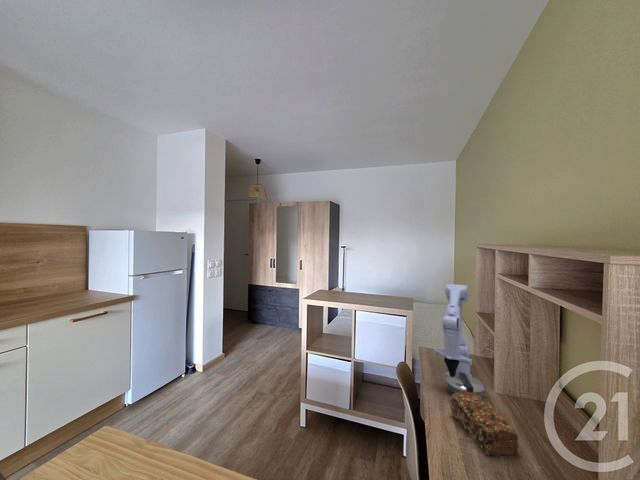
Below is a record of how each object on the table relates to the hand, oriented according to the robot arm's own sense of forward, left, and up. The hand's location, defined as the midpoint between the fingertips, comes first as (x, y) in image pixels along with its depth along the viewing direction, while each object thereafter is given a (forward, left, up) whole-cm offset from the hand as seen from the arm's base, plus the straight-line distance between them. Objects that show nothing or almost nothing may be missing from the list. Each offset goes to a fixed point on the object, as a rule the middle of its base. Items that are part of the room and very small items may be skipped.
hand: (452, 376), depth 105 cm
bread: (+12, +18, -8) cm, 23 cm away
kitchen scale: (-3, +4, -8) cm, 9 cm away
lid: (-4, +3, -4) cm, 6 cm away
